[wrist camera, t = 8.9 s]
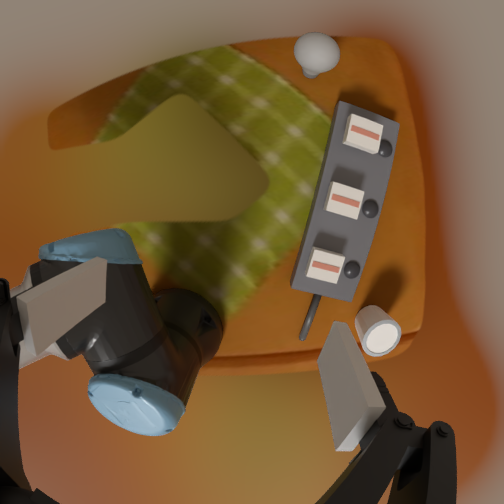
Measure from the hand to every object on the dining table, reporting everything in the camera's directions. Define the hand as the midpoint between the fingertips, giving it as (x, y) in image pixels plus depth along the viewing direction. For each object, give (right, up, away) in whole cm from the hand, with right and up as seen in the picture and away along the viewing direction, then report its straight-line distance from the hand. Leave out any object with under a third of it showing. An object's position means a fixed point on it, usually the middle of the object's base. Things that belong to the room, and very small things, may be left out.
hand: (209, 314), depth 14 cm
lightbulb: (+11, +31, +21) cm, 40 cm away
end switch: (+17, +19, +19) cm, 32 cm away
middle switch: (+15, +11, +23) cm, 29 cm away
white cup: (+23, -9, +30) cm, 39 cm away
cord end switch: (+13, +2, +25) cm, 28 cm away
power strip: (+15, +6, +27) cm, 32 cm away
